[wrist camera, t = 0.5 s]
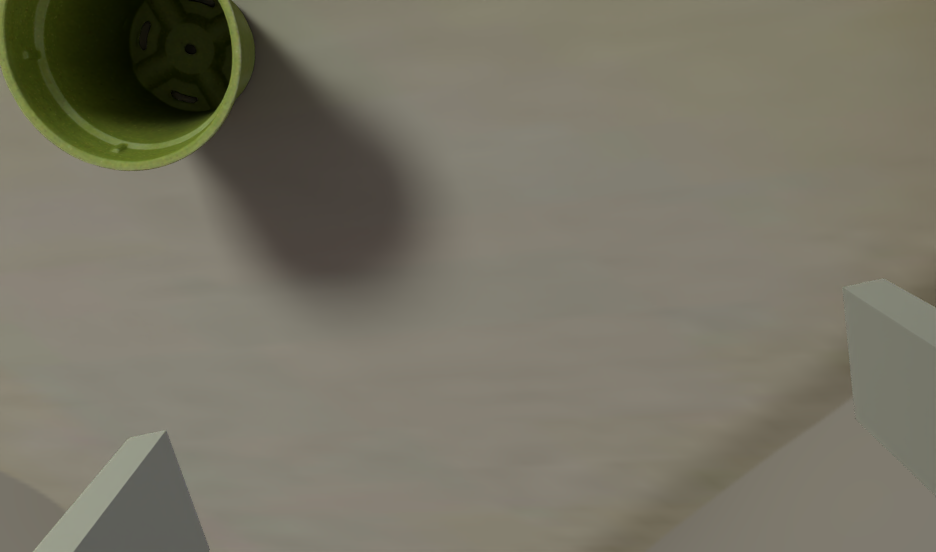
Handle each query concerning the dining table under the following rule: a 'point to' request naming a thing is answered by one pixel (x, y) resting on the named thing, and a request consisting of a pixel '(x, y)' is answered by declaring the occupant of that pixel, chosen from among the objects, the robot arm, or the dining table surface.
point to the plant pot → (125, 74)
